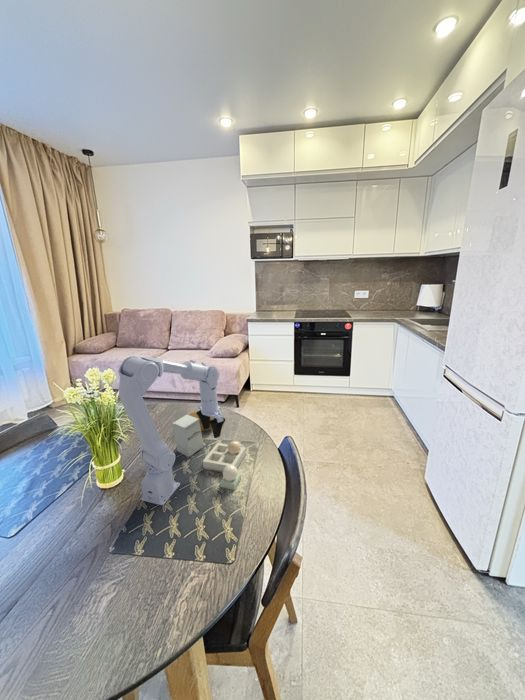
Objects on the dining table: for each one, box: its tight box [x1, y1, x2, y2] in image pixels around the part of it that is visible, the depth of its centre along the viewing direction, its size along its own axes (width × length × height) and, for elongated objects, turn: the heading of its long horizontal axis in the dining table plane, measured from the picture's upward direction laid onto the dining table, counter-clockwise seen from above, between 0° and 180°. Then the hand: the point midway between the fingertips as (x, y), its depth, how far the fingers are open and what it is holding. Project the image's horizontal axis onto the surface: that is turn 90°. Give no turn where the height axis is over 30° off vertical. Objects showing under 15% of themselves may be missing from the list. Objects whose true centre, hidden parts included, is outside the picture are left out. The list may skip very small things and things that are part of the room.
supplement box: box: [171, 414, 204, 458], centre depth 113 cm, size 7×7×13 cm
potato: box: [188, 411, 214, 432], centre depth 129 cm, size 10×14×8 cm
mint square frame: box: [219, 473, 242, 491], centre depth 96 cm, size 5×5×2 cm
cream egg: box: [222, 465, 239, 481], centre depth 96 cm, size 5×5×5 cm
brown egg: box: [227, 440, 242, 455], centre depth 108 cm, size 5×5×5 cm
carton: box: [202, 442, 247, 473], centre depth 107 cm, size 12×12×3 cm
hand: (211, 432), depth 108 cm, fingers open, 7 cm apart
